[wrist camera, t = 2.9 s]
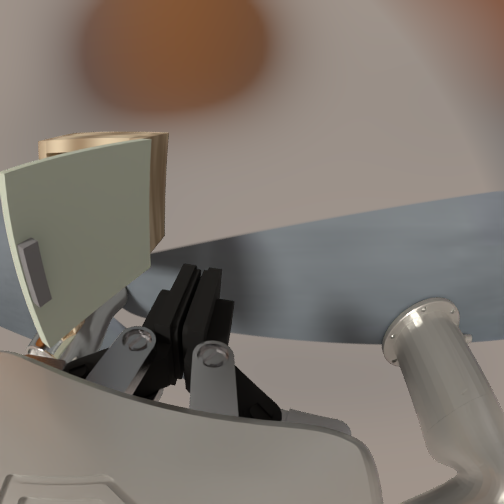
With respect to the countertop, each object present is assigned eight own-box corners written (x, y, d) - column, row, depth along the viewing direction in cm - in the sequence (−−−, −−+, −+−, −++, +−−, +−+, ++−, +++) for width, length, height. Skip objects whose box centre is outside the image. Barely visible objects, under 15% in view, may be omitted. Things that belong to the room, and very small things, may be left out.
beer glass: (79, 270, 33) (14, 343, 20) (117, 262, 32) (48, 346, 18) (101, 311, 36) (50, 389, 23) (139, 308, 35) (89, 397, 21)
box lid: (141, 138, 19) (160, 140, 19) (142, 263, 24) (158, 269, 24) (-2, 172, 9) (10, 174, 8) (42, 341, 14) (57, 354, 13)
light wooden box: (168, 132, 25) (142, 138, 19) (164, 235, 30) (143, 262, 24) (73, 133, 25) (38, 141, 19) (77, 223, 30) (48, 244, 24)
